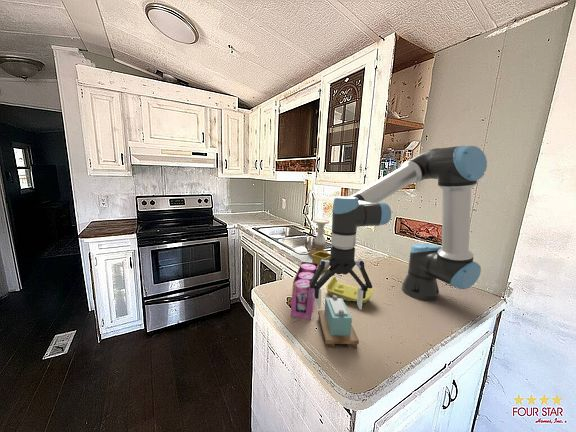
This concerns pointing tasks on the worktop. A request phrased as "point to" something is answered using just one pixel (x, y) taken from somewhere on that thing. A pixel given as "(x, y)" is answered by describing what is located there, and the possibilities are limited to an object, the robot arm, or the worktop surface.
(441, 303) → the worktop surface
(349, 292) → the plastic component
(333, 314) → the housing
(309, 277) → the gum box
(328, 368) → the worktop surface
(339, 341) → the stand
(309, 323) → the worktop surface
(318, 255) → the flower pot
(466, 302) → the worktop surface
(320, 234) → the candle holder
